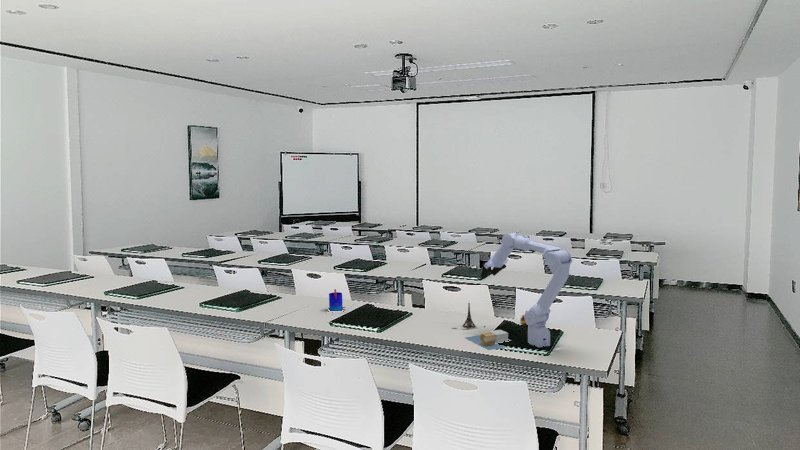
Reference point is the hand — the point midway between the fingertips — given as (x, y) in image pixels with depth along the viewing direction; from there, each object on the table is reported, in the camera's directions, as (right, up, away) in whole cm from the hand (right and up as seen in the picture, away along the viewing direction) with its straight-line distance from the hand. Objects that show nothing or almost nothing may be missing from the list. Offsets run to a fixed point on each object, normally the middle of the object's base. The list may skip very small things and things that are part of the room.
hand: (487, 275), depth 263 cm
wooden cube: (-3, -28, -20) cm, 34 cm away
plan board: (-1, -28, -15) cm, 32 cm away
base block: (+2, -27, -14) cm, 30 cm away
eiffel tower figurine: (-8, -27, +11) cm, 30 cm away
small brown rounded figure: (+23, -25, +14) cm, 37 cm away
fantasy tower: (-76, -24, +49) cm, 93 cm away
